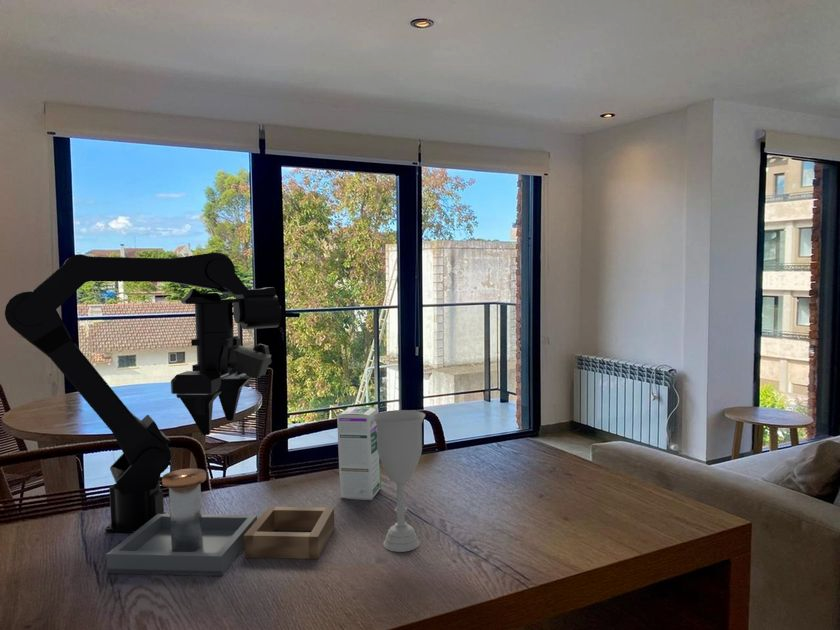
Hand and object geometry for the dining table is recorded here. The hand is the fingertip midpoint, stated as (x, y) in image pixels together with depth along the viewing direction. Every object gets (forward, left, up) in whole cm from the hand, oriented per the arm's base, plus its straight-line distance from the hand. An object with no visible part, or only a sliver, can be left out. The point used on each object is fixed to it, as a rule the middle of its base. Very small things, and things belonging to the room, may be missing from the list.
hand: (218, 427), depth 98 cm
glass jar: (+2, -16, -12) cm, 20 cm away
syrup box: (+22, +6, -13) cm, 26 cm away
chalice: (+31, -13, -13) cm, 36 cm away
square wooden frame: (+15, -13, -13) cm, 24 cm away
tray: (+2, -16, -13) cm, 21 cm away
